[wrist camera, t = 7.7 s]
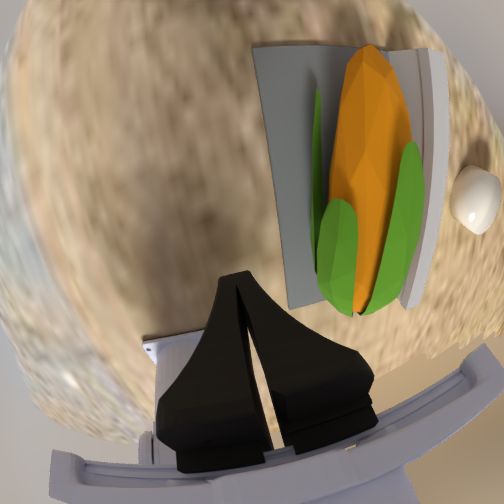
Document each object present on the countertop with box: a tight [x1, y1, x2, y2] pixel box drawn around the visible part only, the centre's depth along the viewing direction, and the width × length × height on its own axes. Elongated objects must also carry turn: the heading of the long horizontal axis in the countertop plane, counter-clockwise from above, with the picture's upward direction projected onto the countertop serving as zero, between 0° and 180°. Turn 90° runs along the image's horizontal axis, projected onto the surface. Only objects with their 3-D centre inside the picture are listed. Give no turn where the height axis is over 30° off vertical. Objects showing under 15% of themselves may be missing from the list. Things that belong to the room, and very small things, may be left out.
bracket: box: [251, 45, 449, 310], centre depth 18 cm, size 22×12×5 cm, turn 9°
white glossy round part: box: [450, 165, 502, 234], centre depth 21 cm, size 7×7×4 cm
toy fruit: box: [310, 44, 425, 317], centre depth 16 cm, size 7×8×20 cm
